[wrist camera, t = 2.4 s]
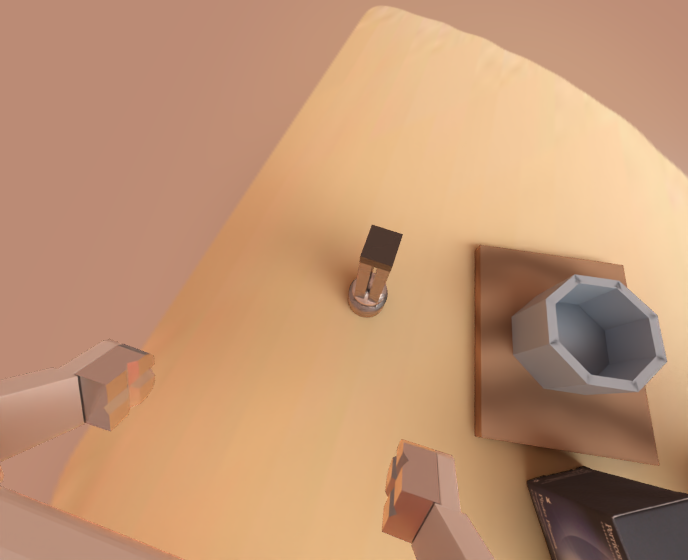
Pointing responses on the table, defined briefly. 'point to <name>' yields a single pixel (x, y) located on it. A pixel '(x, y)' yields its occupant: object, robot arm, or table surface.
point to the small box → (609, 517)
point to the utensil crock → (588, 338)
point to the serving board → (519, 385)
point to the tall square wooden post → (369, 286)
